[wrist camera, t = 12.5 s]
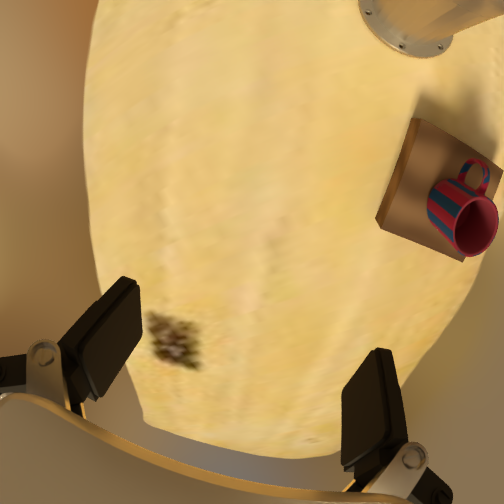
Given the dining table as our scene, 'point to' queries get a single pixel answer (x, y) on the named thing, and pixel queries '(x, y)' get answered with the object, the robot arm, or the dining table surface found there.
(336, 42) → the dining table surface
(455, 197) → the mug
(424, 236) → the walnut block
